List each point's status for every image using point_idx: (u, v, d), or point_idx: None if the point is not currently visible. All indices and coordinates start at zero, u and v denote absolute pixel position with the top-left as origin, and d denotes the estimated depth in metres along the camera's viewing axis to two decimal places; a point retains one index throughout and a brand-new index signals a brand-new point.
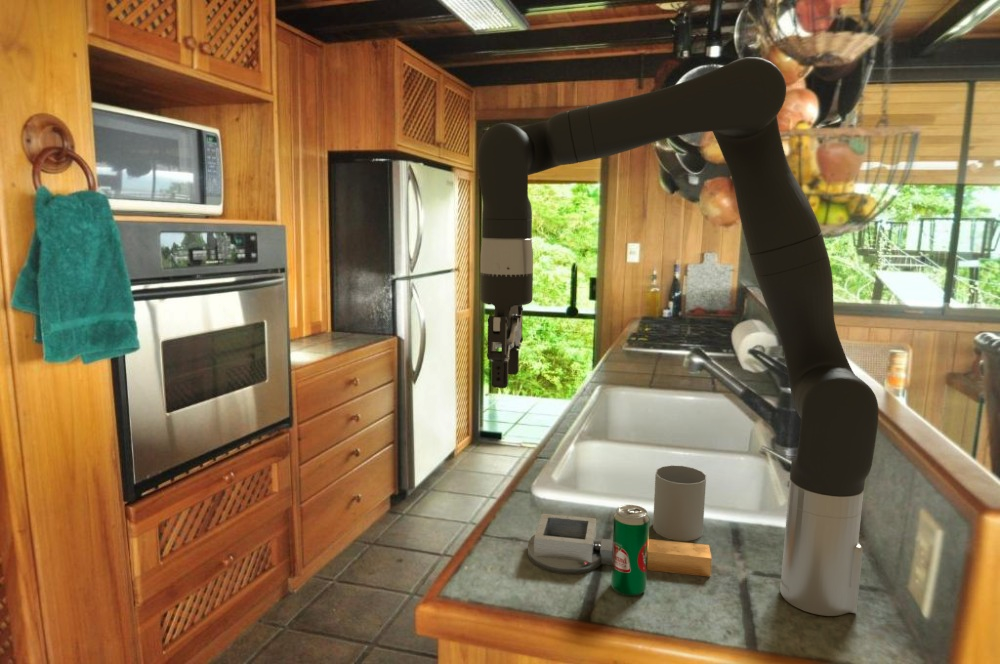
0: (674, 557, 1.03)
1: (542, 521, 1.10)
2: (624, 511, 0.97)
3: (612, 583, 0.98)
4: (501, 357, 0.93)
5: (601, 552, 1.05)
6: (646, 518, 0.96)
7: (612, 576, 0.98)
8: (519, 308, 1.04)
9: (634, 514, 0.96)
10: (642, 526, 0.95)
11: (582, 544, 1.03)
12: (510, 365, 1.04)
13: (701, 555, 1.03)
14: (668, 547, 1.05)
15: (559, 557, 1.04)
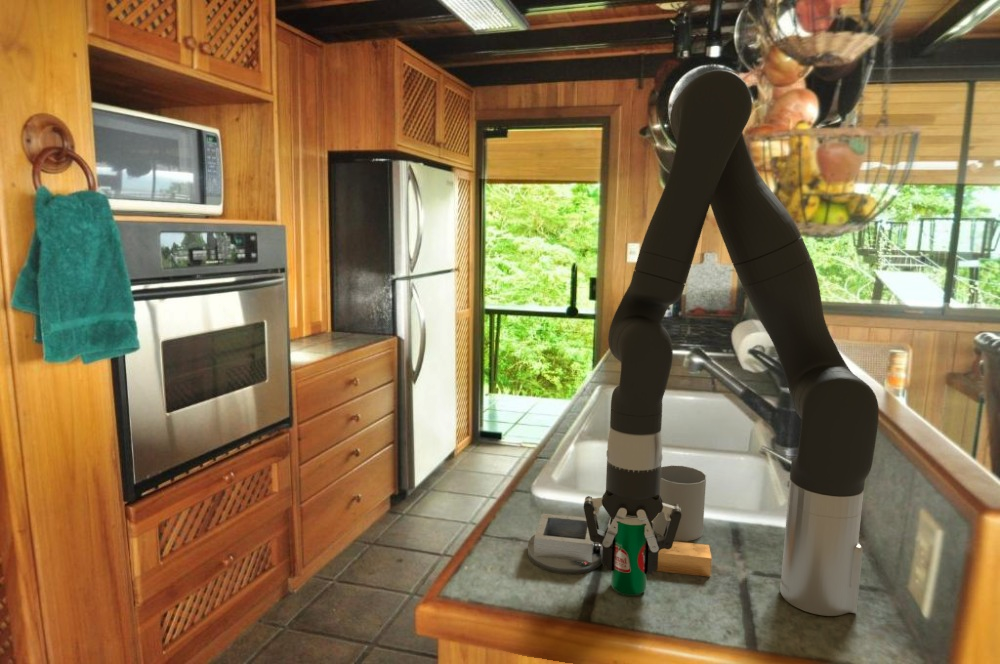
0: (674, 557, 1.03)
1: (542, 521, 1.10)
2: None
3: (612, 583, 0.98)
4: None
5: (601, 552, 1.05)
6: None
7: (612, 576, 0.98)
8: (592, 499, 0.99)
9: (634, 514, 0.96)
10: (642, 526, 0.95)
11: (582, 544, 1.03)
12: None
13: (701, 555, 1.03)
14: None
15: (559, 557, 1.04)
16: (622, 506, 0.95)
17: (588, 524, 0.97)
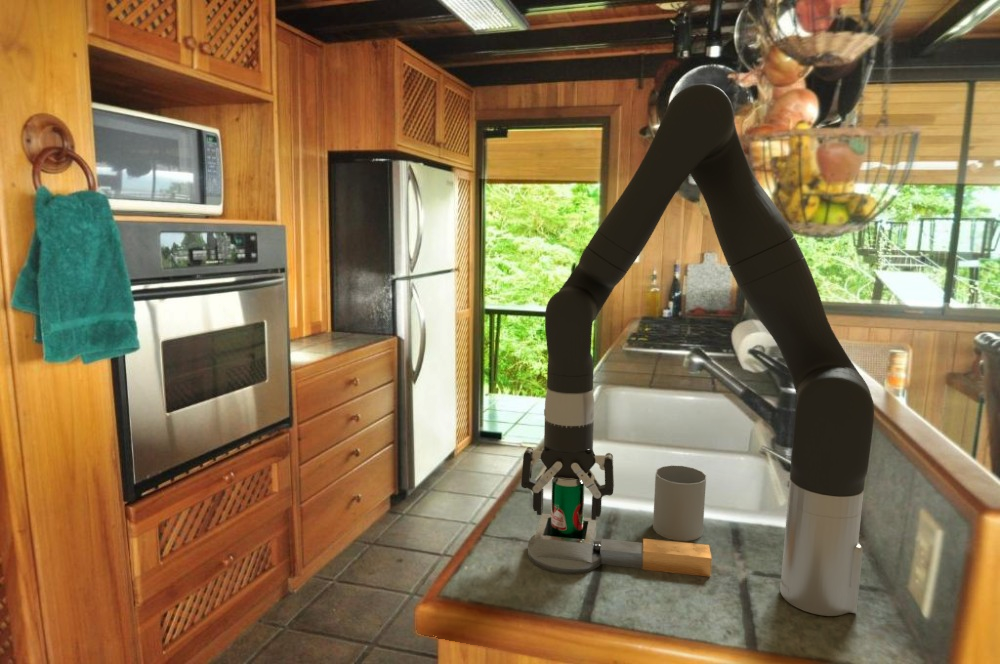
0: (674, 557, 1.03)
1: (542, 521, 1.10)
2: None
3: None
4: (613, 488, 1.06)
5: (601, 552, 1.05)
6: None
7: (551, 534, 1.07)
8: None
9: (570, 477, 1.05)
10: (576, 488, 1.04)
11: (582, 544, 1.03)
12: (542, 505, 1.08)
13: (701, 555, 1.03)
14: (668, 547, 1.05)
15: (559, 557, 1.04)
16: (559, 460, 1.05)
17: (523, 471, 1.06)
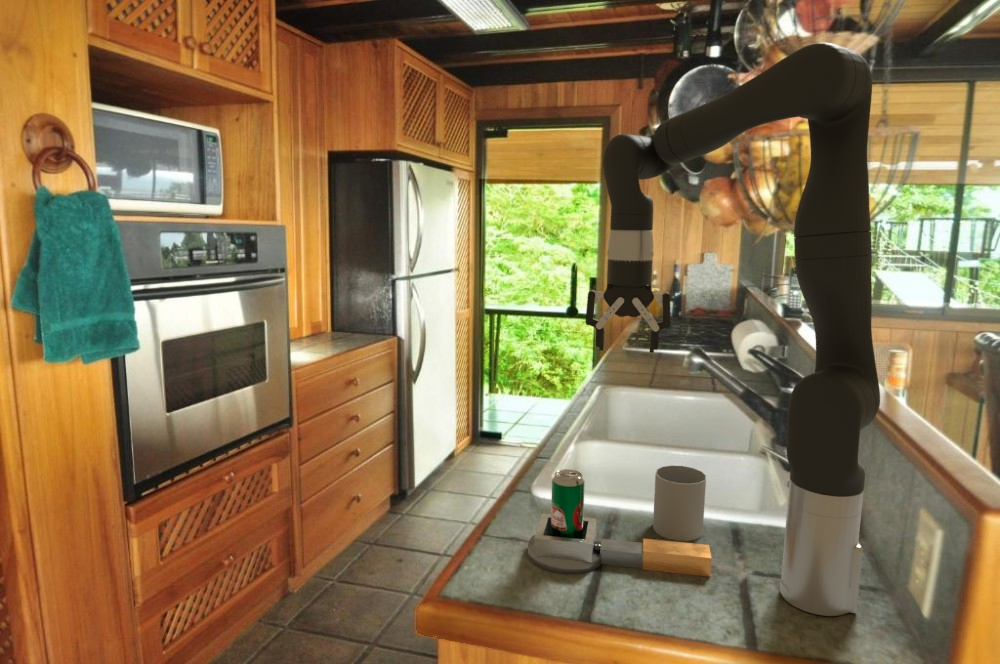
0: (674, 557, 1.03)
1: (542, 521, 1.10)
2: (561, 474, 1.06)
3: None
4: None
5: (601, 552, 1.05)
6: (581, 480, 1.05)
7: (551, 534, 1.07)
8: None
9: (570, 477, 1.05)
10: (576, 488, 1.04)
11: (582, 544, 1.03)
12: None
13: (701, 555, 1.03)
14: (668, 547, 1.05)
15: (559, 557, 1.04)
16: (621, 297, 1.15)
17: (587, 309, 1.17)
